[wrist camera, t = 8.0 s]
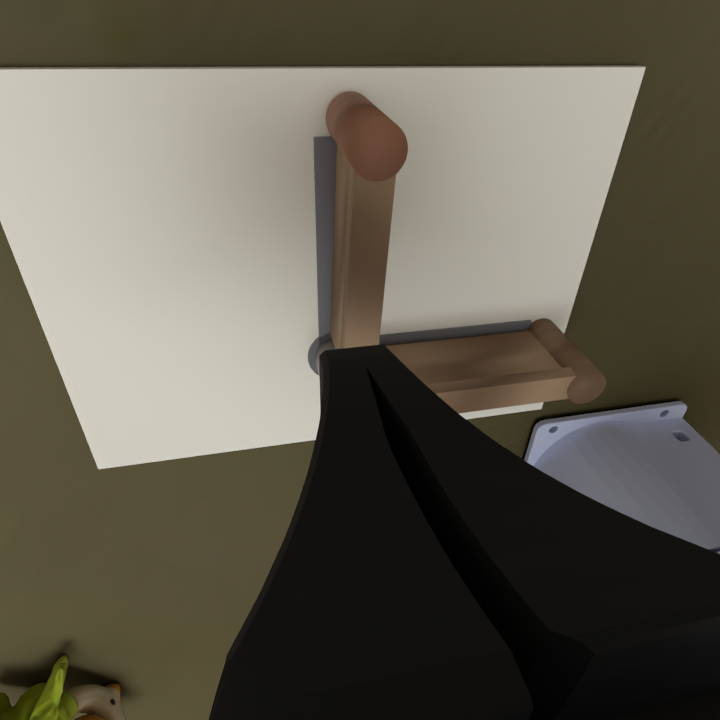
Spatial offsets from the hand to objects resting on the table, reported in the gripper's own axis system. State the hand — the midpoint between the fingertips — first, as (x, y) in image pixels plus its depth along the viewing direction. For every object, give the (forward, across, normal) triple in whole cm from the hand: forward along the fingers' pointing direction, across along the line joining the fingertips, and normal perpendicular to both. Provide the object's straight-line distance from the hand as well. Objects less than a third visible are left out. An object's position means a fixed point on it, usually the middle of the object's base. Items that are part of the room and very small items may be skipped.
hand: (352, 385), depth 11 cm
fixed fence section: (+10, -6, +6) cm, 13 cm away
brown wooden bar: (+10, -2, +1) cm, 10 cm away
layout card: (+10, -2, +3) cm, 11 cm away
